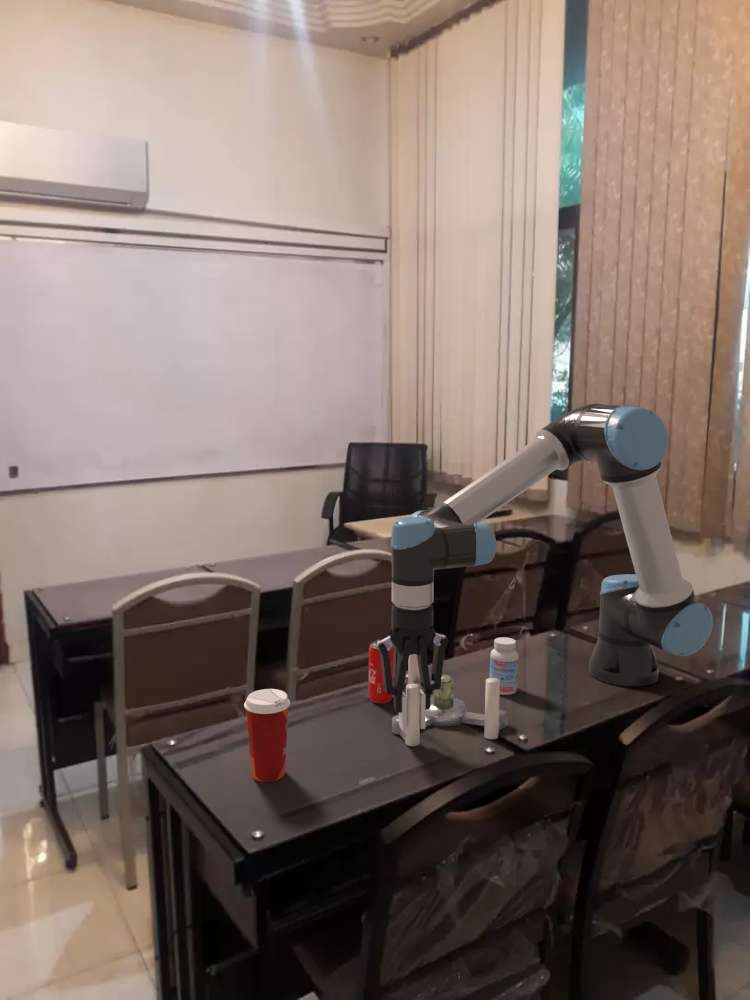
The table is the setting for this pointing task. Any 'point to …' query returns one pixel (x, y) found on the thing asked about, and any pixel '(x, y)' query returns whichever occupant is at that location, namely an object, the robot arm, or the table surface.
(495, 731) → the knob
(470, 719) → the levelling base
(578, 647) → the table surface
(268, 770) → the paper cup
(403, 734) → the knob
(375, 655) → the beverage can
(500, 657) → the pill bottle
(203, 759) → the table surface
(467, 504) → the robot arm
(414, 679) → the white lever handle
